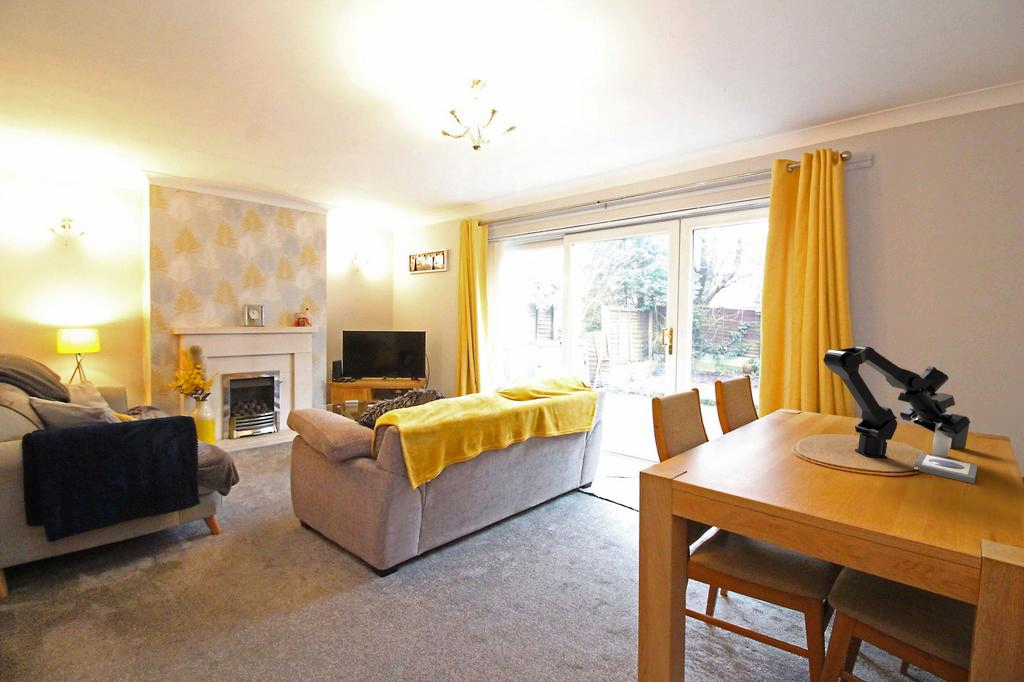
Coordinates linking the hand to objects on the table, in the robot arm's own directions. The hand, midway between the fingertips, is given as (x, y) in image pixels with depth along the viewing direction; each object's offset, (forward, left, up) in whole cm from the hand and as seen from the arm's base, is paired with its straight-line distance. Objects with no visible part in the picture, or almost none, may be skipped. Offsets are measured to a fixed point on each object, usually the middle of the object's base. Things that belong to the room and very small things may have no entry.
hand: (946, 435), depth 158 cm
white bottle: (-1, 0, -7) cm, 7 cm away
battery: (+12, +12, -7) cm, 18 cm away
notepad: (-11, -16, -7) cm, 21 cm away
